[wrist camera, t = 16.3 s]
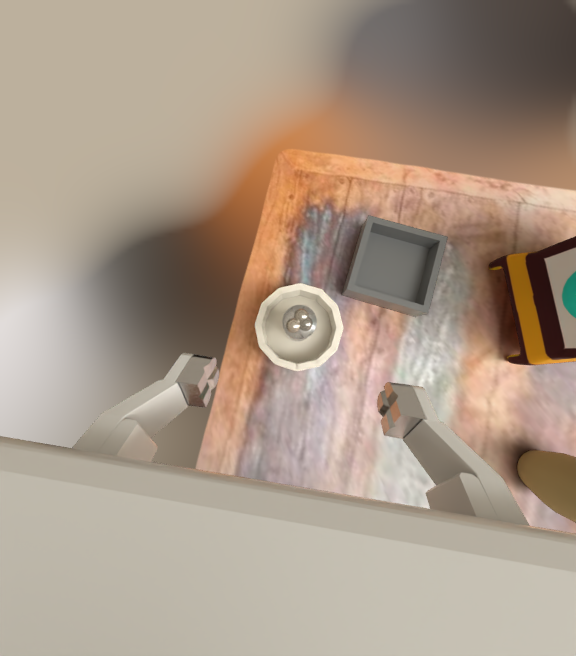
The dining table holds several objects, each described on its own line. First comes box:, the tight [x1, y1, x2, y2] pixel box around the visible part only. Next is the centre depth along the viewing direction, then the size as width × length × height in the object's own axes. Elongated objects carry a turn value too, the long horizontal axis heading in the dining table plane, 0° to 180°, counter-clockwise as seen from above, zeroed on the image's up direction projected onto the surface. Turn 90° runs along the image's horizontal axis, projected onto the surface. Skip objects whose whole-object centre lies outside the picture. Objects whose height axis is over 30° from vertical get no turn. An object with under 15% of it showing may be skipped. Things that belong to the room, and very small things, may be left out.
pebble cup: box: [282, 305, 317, 342], centre depth 31 cm, size 4×4×9 cm
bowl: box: [255, 283, 343, 371], centre depth 34 cm, size 13×13×4 cm
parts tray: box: [342, 215, 448, 317], centre depth 35 cm, size 13×13×4 cm
